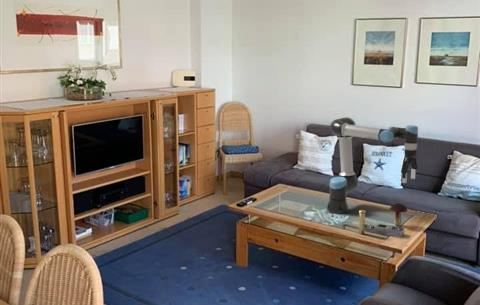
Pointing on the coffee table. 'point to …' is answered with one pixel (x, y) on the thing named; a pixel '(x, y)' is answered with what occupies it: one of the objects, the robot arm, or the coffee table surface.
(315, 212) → the coffee table surface
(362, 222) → the brass pin
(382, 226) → the riveted socket bracket
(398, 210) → the decorative mushroom
